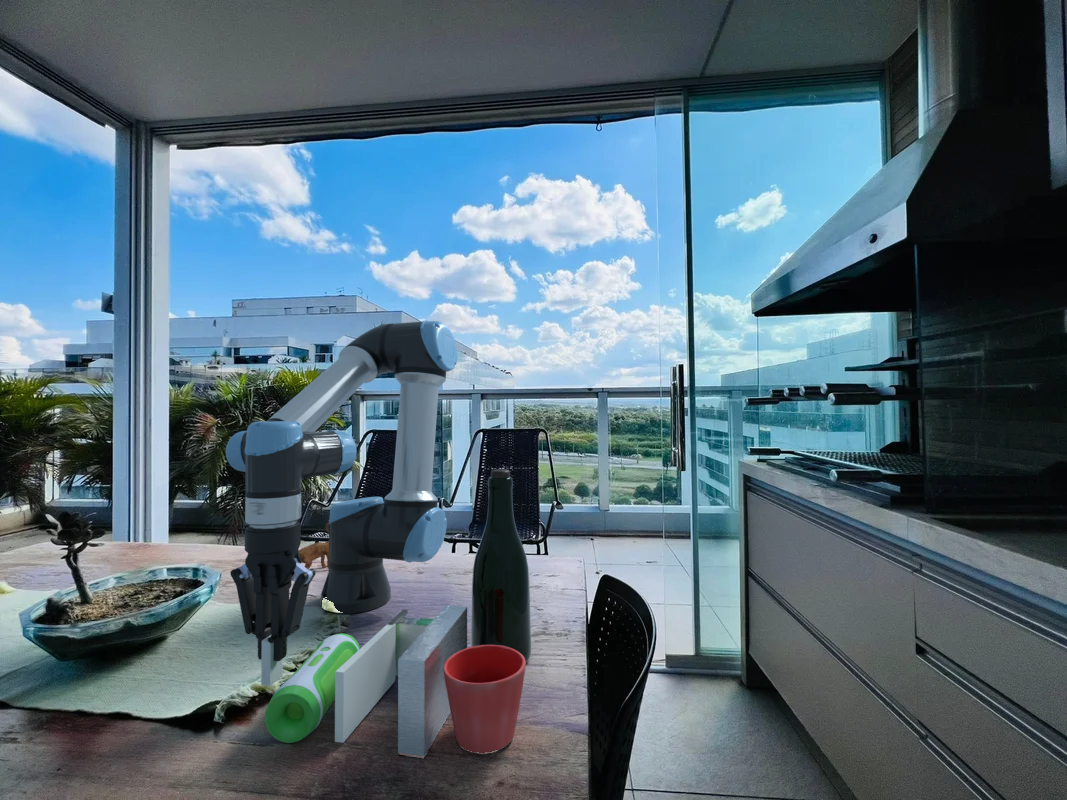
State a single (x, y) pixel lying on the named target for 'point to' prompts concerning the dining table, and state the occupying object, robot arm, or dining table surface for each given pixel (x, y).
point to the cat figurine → (315, 552)
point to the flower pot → (484, 695)
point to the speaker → (308, 690)
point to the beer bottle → (501, 576)
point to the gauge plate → (364, 679)
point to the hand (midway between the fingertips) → (272, 680)
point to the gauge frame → (425, 675)
